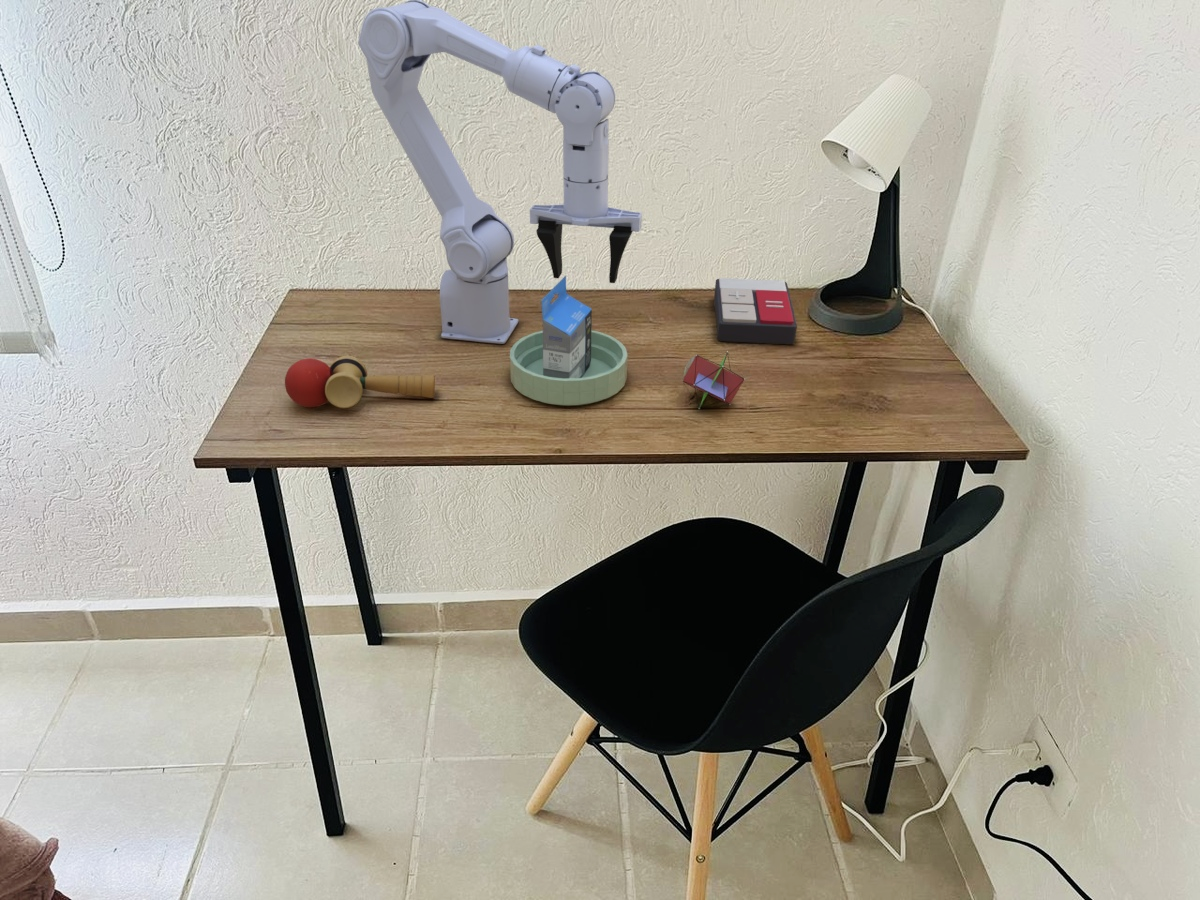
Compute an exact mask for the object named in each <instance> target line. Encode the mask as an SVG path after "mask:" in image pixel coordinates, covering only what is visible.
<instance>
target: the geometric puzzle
mask: <svg viewBox="0 0 1200 900" xmlns="http://www.w3.org/2000/svg"><path fill="white" fill-rule="evenodd" d="M712 354H715V353H712ZM703 355H704V356H705V355H706V354H702V356H703ZM722 355H724V357H723V359H722V361H721V362H720V364H719V363H717V362H714V361H713V360H710V359H713V358H715V357H719V356H722ZM702 356H701V355H699V354H695V355H694V356H693V357H691V358H690V359H689V360H688V361H687V363H686V364H685V366H684V370H683V375H682V380H681V382H682V383H683V384H684V386H686V385H688V386H690V387H691V388H693V389H694V391H695V396H696V401H697V404H696V406H697V407H698V410H701V409H703V408H704V409H706V408H707V409H708V407H709V406H711V405H714V404H718V403H720V402H722V403H724V404H725V405H728V406H731V404H732V402H733V400H734V398H735V397H736V396H737V393H738V392H739V390H740V388H741V386H742V385H743V383H744V381H745V380H746V378H745V377H744V376H742V375H741V376H740V375H739V374H737V373H735V372H734V371H732V370H731V368H729V369H728V368H727V367H725V362H726V359H727V360H728V361H730V358H731V360H733V358H732V357H731V355H730V354H729V351H728V350H727V351H725V352H721V353H719V354H718V355H716V356H712V357H710V358H704V357H702ZM729 357H730V358H729ZM728 365H729V367H731V364H730V362H728ZM735 366H736V368H737V369H738V371H740V370H739V368H738V366H737V365H735ZM685 384H686V385H685ZM686 389H687V391H688V393H689V394H691V393H690V391H689V389H688V388H686ZM697 391H699V392H701V393H702V398H701V401H700V403H699V398H698V395H697ZM707 396H709V397H711V398H713V399H715V400H718V401H717V402H713V403H710V404H707V405H705V406H702V405H703V402H704V401H705V399H706V397H707ZM691 398H692V399H694V398H693V396H691ZM724 404H722V405H721V404H720V407H721V406H722V407H723V406H724ZM712 407H713V408H714V407H715V408H716V405H715V406H712Z"/></svg>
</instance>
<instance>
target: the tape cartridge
mask: <svg viewBox="0 0 1200 900" xmlns="http://www.w3.org/2000/svg"><path fill="white" fill-rule="evenodd" d="M555 296H557V297H556V299H554V298H555ZM553 299H554V301H553V302H552V300H553ZM551 302H552V303H551ZM540 304H541V305H540V306H541V316H542V317H541V318H542V330H543V375H544V376H548V377H555V378H581V377H582V376H583V375H584V373H585V372H586V371H587V369H588V368H589V367H590V365H591V330H592V328H593V327H592V325H593V324H592V322H593V321H592V318H593V315H592V314H593V309H592V308H591V307H590V306H588V305H587V304H584V303H582V302H581V301H580V300H577V299H576V298H574V297H573V296H571V295H570V294H568V292H567V276H566V275H564V276H563V278H561V279H560V281H558V282H557V284H556V285H554V286H553V287H552V288H551V289H550V290H549V291H548V293H547V294H546V295H544V297H542V299H541V300H540Z"/></svg>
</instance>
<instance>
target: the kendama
mask: <svg viewBox="0 0 1200 900" xmlns="http://www.w3.org/2000/svg"><path fill="white" fill-rule="evenodd" d="M284 387H285V391H286V394H287V395H288V397H289V398H290V399H291V400H292V401H293V402H294V403H295V404H297V405H298V406H302V407H305V408H316V407H320V406H323V405H325V404H328V403H330V404H331V405H332V406H335V407H336V408H339V409H349V408H352V407H354V406H356V405H357V404H358V403H360V400H361V399H362V396H363V392H364V390H367V391H373V392H379V393H384V394H394V395H398V394H399V395H404V396H406V395H407V396H414V397H422V398H428V399H434V398H435V391H436V390H435V388H436V375H435V374H423V375H421V374H408V375H407V374H399V375H397V374H391V375H390V374H388V375H387V374H385V375H371V376H370V375H369V376H368V369H367V367H366V365H365V364H364V362H363V361H362V360H361V359H359V358H358V357H355V356H352V355H341V356H338V357H337V358H336V359H334V360H333V361H332V363H331V364H330V366H329V365H328V364H327V363H326V362H324V361H322V360H319V359H318V358H313V357H312V358H311V357H310V358H303V359H300V360H297V361H296V362H294V363H293V364H291V366H289V367H288V369H287V371H286V374H285V376H284Z"/></svg>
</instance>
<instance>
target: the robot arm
mask: <svg viewBox="0 0 1200 900" xmlns="http://www.w3.org/2000/svg"><path fill="white" fill-rule="evenodd" d="M357 45H358V47H359V49H360V51H361V52H362V54H363V55H364V57H365V59H366V64H367V71H368V77H369V83H370V89H371V93H372V95H373V97H374V99H375V101H376V103H377V104H378V106H379V108H380V110H381V112H382V113H383V115H384V117H385V118H386V120H387V122H388V123H389V127H391V129H392V132H393V133H394V135H395V136H396V138H397V140H398V142H399V144H400V145H401V147H402V149H403V150H404V151H403V152H404V153H405V154H406V156H407V158H408V159H409V161H410V163H411V165H412V167H413V169H414V171H415V172H416V174H417V176H418V177H419V179H420V181H421V183H422V185H423V186H424V188H425V190H426V192H427V193H428V195H429V197H430V199H431V200H432V202H433V204H434V205H435V208H436V209H437V212H438V213H439V215H440V216H441V222H440V223H441V224H440V231H439V239H440V240H441V242H442V244H443V246H444V249H445V254H446V261H447V264H448V266H449V268H450V269H446V270H444V272H443V274H442V276H441V279H440V283H439V305H440V318H441V329H442V332H441V333H440V337H441V338H442V339H446V340H447V339H449V340H458V341H466V342H467V341H469V342H479V343H488V344H497V345H504V344H506V342H507V341H508V339H509V338H510V337H511V334H512V333H513V331H514V330H515V328H516V327H517V325H518V323H519V319H518V318H513V317H511V315H510V314H511V313H510V288H509V287H510V286H509V268H508V267H509V266H508V257H509V256H510V255H511V254H512V252H513V250H514V248H515V237H514V234H513V230H512V229H511V228H510V226H509V225H508V223H506V222H505V221H503V220H502V219H501V218H500V217H499V216H498V215H497V213H496V212H495V210H494V208H493V206H492V205H490V204H489V203H487V202H485V201H484V200H482V199H480V198H479V197H477V195H476V193H475V192H474V190H473V188H472V186H471V184H470V183H469V180H468V178H467V176H466V175H465V173H464V172H463V169H462V168H461V165H460V164H459V162H458V160H457V159H456V156H455V155H454V153H453V151H452V149H451V148H450V146H449V144H448V142H447V140H446V138H445V137H444V135H443V133H442V131H441V129H440V127H439V125H438V124H437V121H436V120H435V118H434V116H433V114H432V112H431V111H430V109H429V108H428V105H427V103H426V102H425V100H424V98H423V96H422V94H421V92H420V90H419V83H420V81H421V80H420V79H421V75H422V73H423V70H424V66H425V65H426V63H427V62H428V60H429V58H430V57H431V56H432V55H433V54H440V53H446V54H448V55H450V56H453V57H456V58H458V59H460V60H461V61H465V62H467V63H468V64H469V63H470V64H472V65H474V66H476V67H479V68H481V69H483V70H486V71H487V72H490V73H492V74H495V75H498V76H500V77H502V79H503V82H504V83H505V86H506V88H507V90H508V91H509V92H510V93H511V94H514V95H515V96H517V97H519V98H522V99H524V100H525V101H528V102H530V103H531V104H534V105H536V106H537V107H540V108H542V109H545V110H546V111H548V112H549V113H552V114H555V115H556V117H557V119H558V121H559V122H560V124H561V125H562V131H563V132H562V135H563V136H562V138H563V139H562V169H563V170H562V171H563V172H562V175H563V177H562V178H563V179H562V181H563V183H562V184H563V186H562V187H563V189H562V190H563V204H532V206H531V207H530V209H529V224H532V225H537V229H535V232H536V235H537V238H538V239H539V241H540V243H541V244H542V246H543V249H544V250H545V253H546V255H547V259H548V260H549V264H550V268H551V270H552V276H553V279H559V278H560V277H561V275H562V274H563V257H562V256H563V255H562V239H563V238H562V236H563V225H567V226H578V227H579V226H580V227H593V228H606V229H612V231H611V232H610V233H609V238H608V239H609V251H610V252H609V253H610V254H609V256H610V263H609V274H608V275H609V276H608V280H609V284H616V282H617V279H618V274H619V269H620V265H621V260H622V258H623V255H624V253H625V249H626V247H627V244H628V242H629V240H630V237H631V236H632V234H633V232H637V233H639V232H640V231H641V229H642V226H643V225H642V224H643V223H642V221H643V213H642V212H638V211H637V212H636V211H630V210H625V209H619V208H615V207H609V205H608V204H609V154H610V152H609V151H610V146H609V145H610V140H609V121H610V120H609V118H608V116H609V115H610V114H611V113H612V112H613V110H614V107H615V105H616V94H615V89H614V88H613V87H614V86H613V85H612V83H611V82H610V81H609V79H607V78H606V77H605V76H603V74H601V73H600V72H599V71H595V70H589V71H585V72H582V73H581V66H579V65H577V64H575V63H573V64H571V65H568V64H566V63H564V62H562V61H560V60H558V59H556V58H554V57H552V56H550V55H548V54H546V51H547V49H546V47H543V46H541V45H540V44H536V45H533V46H532V47H531V46H529V45H524V46H521V47H520V48H517V49H516V50H514V49H512V48H510V47H508V46H507V45H505V44H503V43H502V42H499V41H497V40H496V39H494V38H493V37H490V36H489V35H487V34H485V33H483V32H481V31H479V30H478V29H476V28H474V27H472V26H471V25H469V24H467V23H465V22H464V21H461V20H460V19H458V18H456V17H454V16H452V15H451V14H449V13H448V12H447V11H446V10H445V9H443V8H440V7H437V6H435V5H434V6H431V5H430V4H429V3H427V2H425V1H424V0H407V1H405V2H403V3H400V4H395V5H390V6H385V7H384V6H382V7H376V8H373V9H371V10H370V11H369V12H368V13H367V14H366V15H365V17H364V19H363V22H362V25H361V29H360V34H359V38H358V41H357Z"/></svg>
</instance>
